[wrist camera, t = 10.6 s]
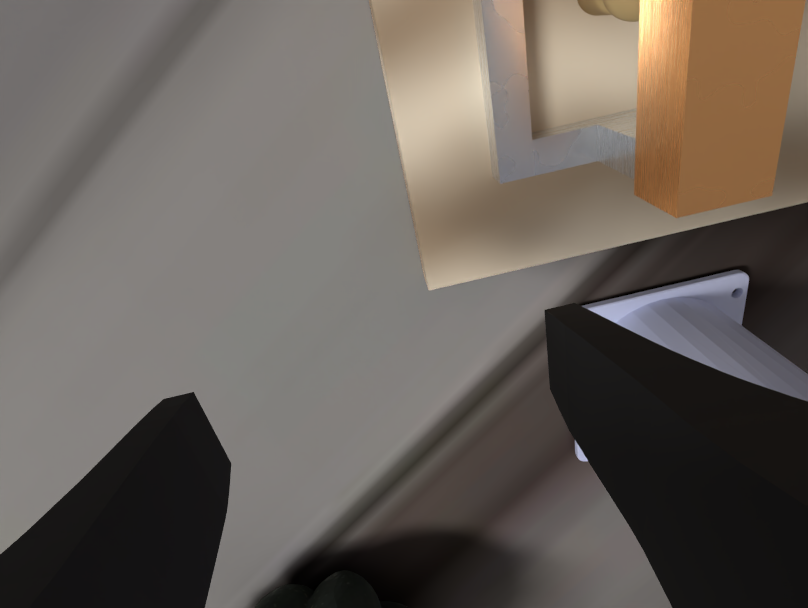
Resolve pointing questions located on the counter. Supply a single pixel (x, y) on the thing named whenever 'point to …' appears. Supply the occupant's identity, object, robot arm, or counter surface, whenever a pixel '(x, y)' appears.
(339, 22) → the counter surface
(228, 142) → the counter surface
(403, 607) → the squash
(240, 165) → the counter surface
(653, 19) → the grey and tan frame
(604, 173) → the board
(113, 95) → the counter surface
